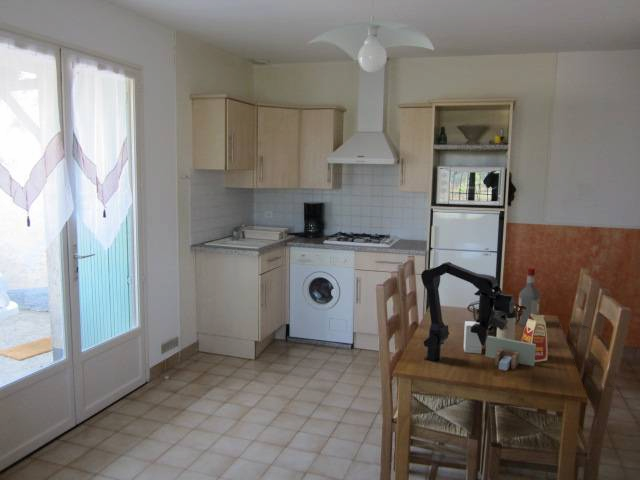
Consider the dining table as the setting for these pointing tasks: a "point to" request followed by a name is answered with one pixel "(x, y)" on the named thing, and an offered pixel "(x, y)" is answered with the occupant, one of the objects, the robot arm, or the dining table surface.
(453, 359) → the dining table surface
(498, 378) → the dining table surface
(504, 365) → the blue-gray block
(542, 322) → the milk carton
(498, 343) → the backstop board
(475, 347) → the supplement box
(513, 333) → the travel mug
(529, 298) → the liquor
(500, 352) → the brown u-shaped bracket
